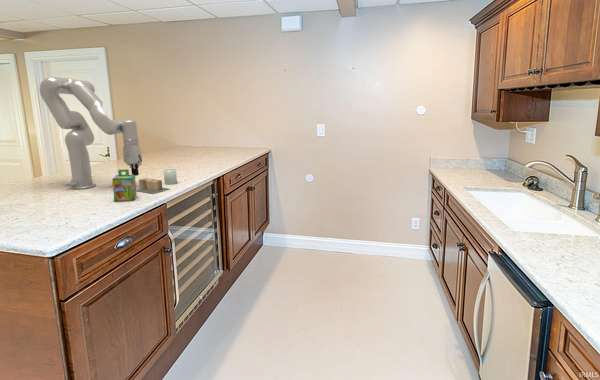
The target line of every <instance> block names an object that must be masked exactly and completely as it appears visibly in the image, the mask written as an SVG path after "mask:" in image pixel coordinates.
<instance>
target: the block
mask: <svg viewBox="0 0 600 380" xmlns="http://www.w3.org/2000/svg"><path fill="white" fill-rule="evenodd" d="M138 183H139V185H138V186H139V189H146V190H152V191H158V190H161V189H163V188H164V187H163V179H156V178H155V179H154V178H148V177H144V178H140V179H138Z"/></svg>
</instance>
